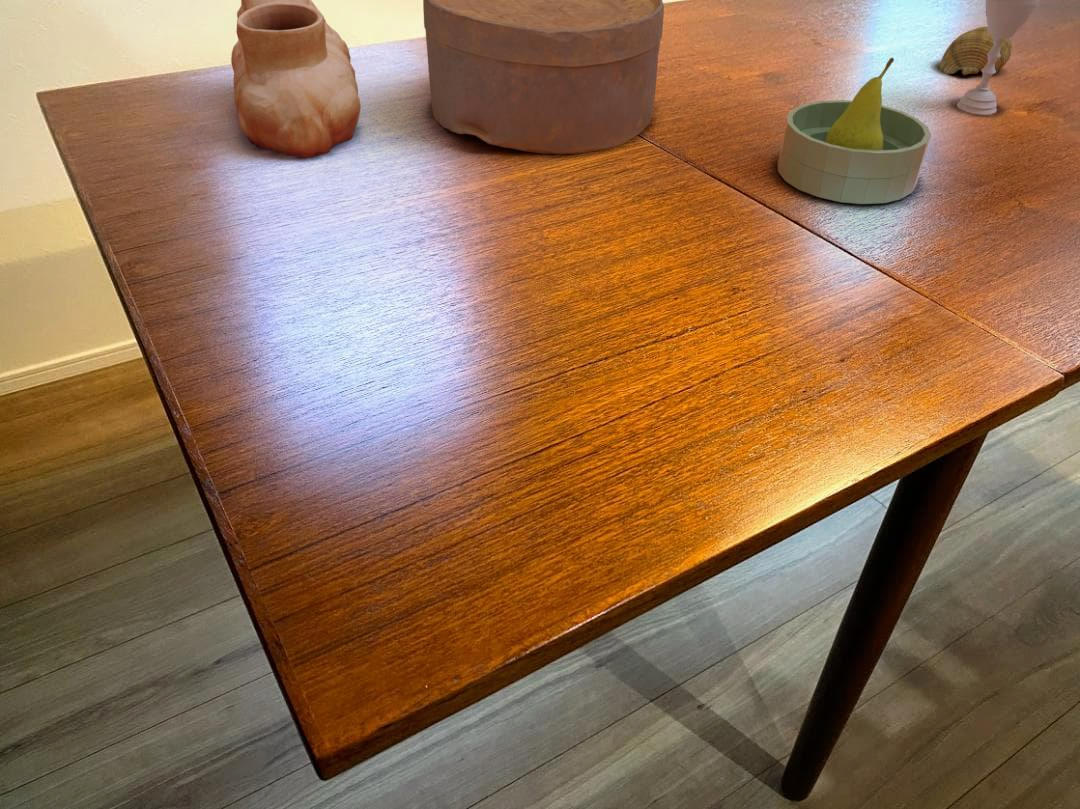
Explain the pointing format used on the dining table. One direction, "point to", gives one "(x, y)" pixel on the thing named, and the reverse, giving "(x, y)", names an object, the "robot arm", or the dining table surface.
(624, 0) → the container
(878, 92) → the fruit
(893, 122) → the bowl
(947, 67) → the seashell
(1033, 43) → the dining table surface
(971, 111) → the chalice
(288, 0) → the ceramic vessel
